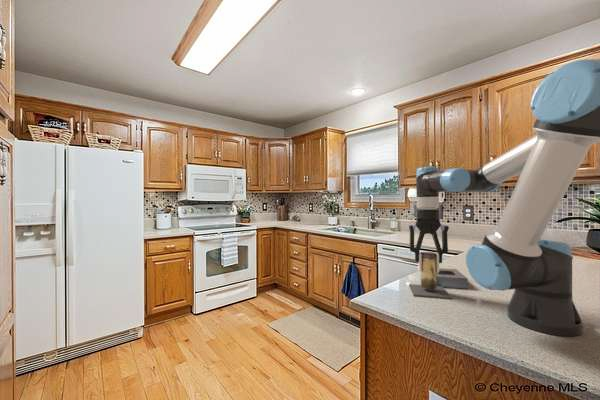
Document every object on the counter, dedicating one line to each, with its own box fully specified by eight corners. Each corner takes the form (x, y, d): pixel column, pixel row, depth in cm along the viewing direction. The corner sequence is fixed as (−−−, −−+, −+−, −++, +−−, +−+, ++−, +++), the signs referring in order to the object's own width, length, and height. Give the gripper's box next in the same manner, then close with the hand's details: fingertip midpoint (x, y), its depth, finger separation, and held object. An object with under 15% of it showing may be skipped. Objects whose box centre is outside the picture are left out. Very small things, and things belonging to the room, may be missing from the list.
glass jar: (438, 289, 94) (437, 254, 94) (422, 288, 95) (421, 254, 95) (434, 284, 99) (434, 251, 99) (419, 283, 100) (419, 251, 100)
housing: (467, 288, 99) (467, 278, 100) (433, 286, 103) (433, 276, 103) (456, 278, 113) (456, 269, 113) (426, 276, 116) (426, 267, 116)
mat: (451, 299, 89) (451, 297, 89) (413, 296, 93) (413, 294, 93) (442, 287, 101) (442, 286, 101) (409, 285, 104) (409, 284, 104)
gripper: (452, 208, 98) (452, 270, 98) (400, 208, 103) (401, 267, 103) (458, 209, 91) (459, 275, 91) (402, 209, 96) (403, 272, 96)
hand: (428, 271), depth 97 cm, fingers closed on glass jar, 5 cm apart
